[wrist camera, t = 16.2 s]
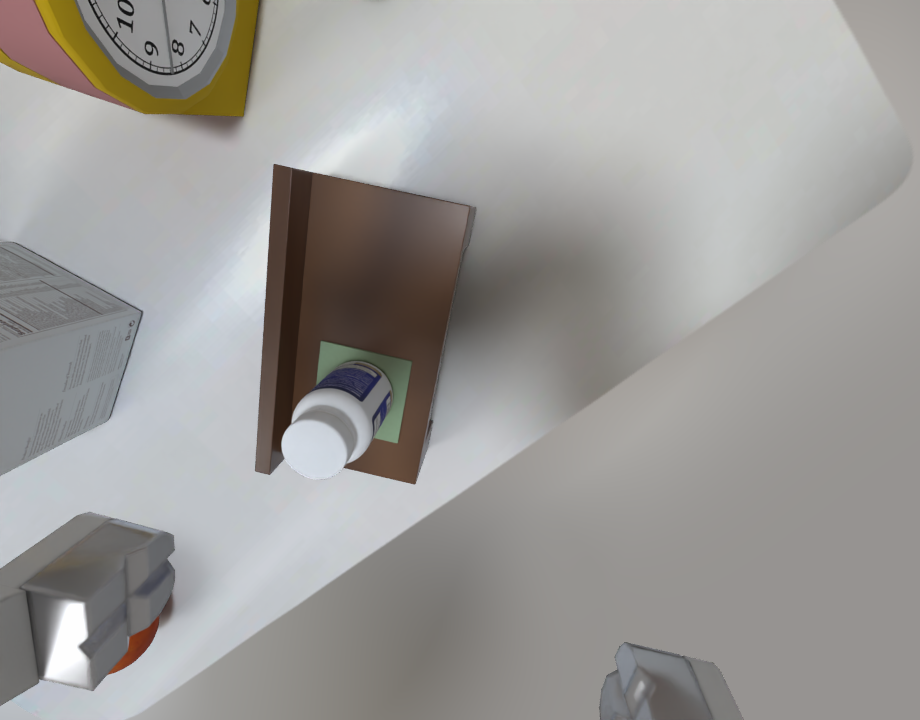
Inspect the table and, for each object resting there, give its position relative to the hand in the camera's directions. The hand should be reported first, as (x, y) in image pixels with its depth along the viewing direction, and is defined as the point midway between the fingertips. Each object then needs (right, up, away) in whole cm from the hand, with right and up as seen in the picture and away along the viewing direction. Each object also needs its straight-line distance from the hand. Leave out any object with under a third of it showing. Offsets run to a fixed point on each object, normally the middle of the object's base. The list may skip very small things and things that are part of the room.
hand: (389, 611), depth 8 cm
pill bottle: (-6, +2, +27) cm, 27 cm away
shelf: (-5, +8, +31) cm, 32 cm away
